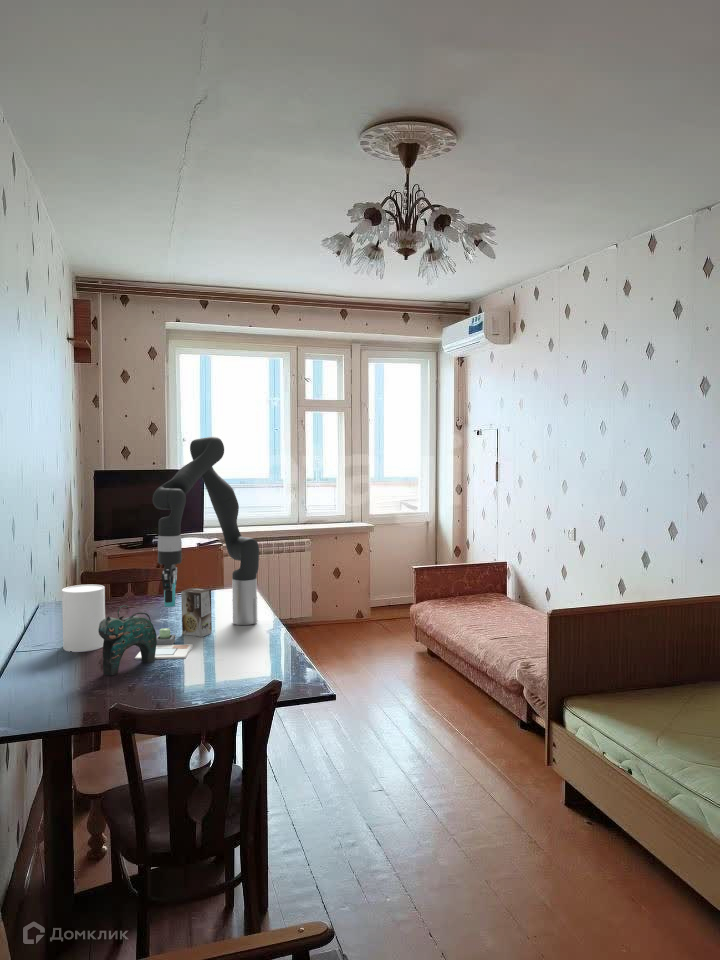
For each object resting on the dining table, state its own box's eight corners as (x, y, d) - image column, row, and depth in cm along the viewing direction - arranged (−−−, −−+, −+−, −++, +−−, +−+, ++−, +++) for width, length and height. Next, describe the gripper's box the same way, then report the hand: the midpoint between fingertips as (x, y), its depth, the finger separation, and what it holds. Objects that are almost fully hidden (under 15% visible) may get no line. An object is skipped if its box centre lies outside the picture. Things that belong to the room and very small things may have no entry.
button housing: (175, 641, 248) (175, 634, 248) (172, 646, 242) (172, 639, 242) (158, 641, 248) (157, 634, 248) (154, 646, 242) (154, 639, 242)
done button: (171, 636, 247) (171, 628, 247) (169, 639, 243) (169, 630, 243) (160, 636, 247) (160, 628, 247) (158, 639, 243) (158, 631, 243)
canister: (98, 651, 236) (97, 592, 235) (57, 652, 236) (56, 592, 235) (110, 640, 250) (109, 584, 249) (71, 641, 249) (69, 584, 248)
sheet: (192, 646, 242) (192, 644, 242) (185, 658, 228) (185, 656, 228) (145, 647, 241) (144, 645, 241) (134, 659, 227) (134, 657, 227)
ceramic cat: (108, 678, 209) (107, 611, 208) (94, 674, 212) (92, 608, 211) (160, 661, 226) (159, 599, 225) (146, 657, 229) (145, 596, 228)
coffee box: (212, 633, 259) (212, 589, 258) (201, 637, 253) (201, 592, 253) (192, 630, 263) (191, 587, 262) (181, 634, 257) (180, 590, 256)
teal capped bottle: (176, 604, 235) (176, 574, 235) (174, 607, 232) (174, 576, 231) (165, 604, 235) (165, 574, 235) (162, 607, 231) (162, 576, 231)
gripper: (177, 552, 226) (177, 605, 226) (185, 546, 240) (185, 596, 241) (153, 552, 225) (153, 605, 226) (162, 546, 239) (163, 596, 240)
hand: (170, 600), depth 233 cm, fingers closed on teal capped bottle, 3 cm apart
